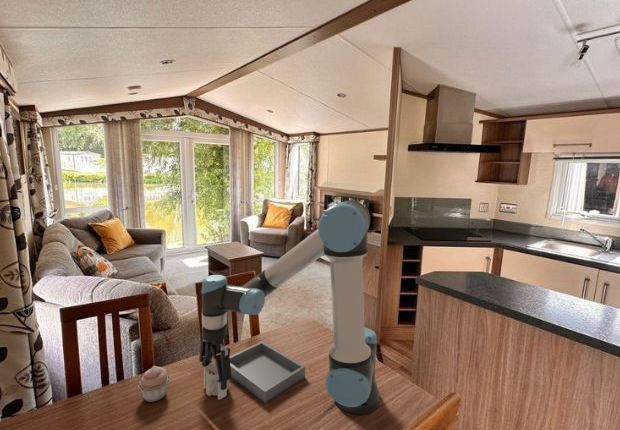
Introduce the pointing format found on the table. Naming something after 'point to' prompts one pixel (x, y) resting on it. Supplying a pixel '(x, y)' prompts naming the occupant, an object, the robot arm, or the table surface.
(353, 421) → the table surface
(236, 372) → the box
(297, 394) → the table surface
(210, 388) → the cup
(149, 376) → the cupcake
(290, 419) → the table surface
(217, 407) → the table surface
